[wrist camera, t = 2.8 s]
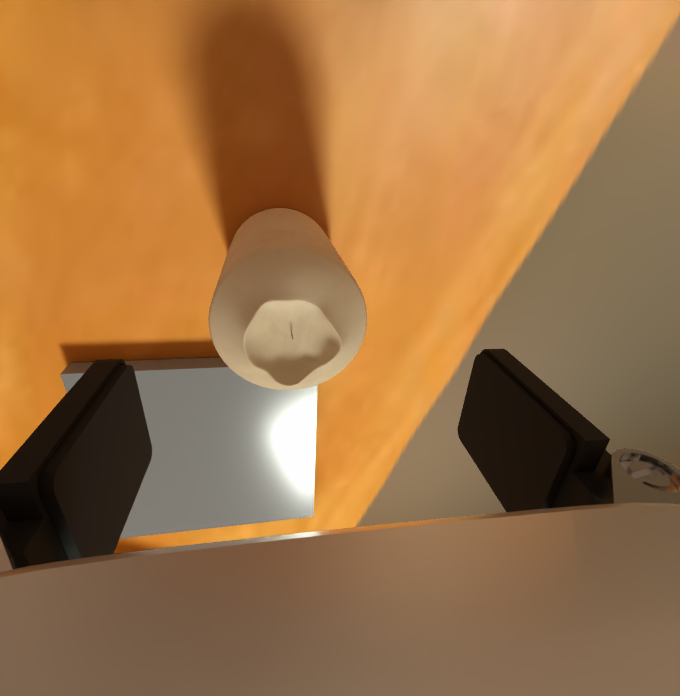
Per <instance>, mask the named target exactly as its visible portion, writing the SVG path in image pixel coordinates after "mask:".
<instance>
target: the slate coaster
mask: <svg viewBox="0 0 680 696" xmlns="http://www.w3.org/2000/svg"><path fill="white" fill-rule="evenodd" d="M124 362H125V363H126V365H132V366H133V368H134V371H135V376H136V380H137V384H138V389H139V393H140V397H141V401H142V406H143V410H144V414H145V419H146V423H147V427H148V431H149V436H150V440H151V444H152V458H151V461H150V464H149V466H148V469H147V471H146V474H145V476H144V479H143V481H142V484H141V486H140V489H139V491H138V494H137V496H136V499H135V501H134V504H133V506H132V509H131V511H130V514H129V516H128V519H127V521H126V524H125V526H124V528H123V531H122V533H121V536H120V538H128V537H137V536H146V535H155V534H164V533H173V532H181V531H190V530H199V529H208V528H217V527H226V526H234V525H243V524H252V523H261V522H270V521H279V520H287V519H296V518H305V517H313V514H314V481H315V448H316V415H317V385H315V386H312V387H309V388H304V389H298V390H276V389H269V388H265V387H261V386H259V385H256V384H253V383H251V382H249V381H247V380H245V379H243V378H242V377H240V376H239V375H237V374H236V373H235V372H234V371H233V370H231V369H230V368H229V367H228V366H227V365H226V363H225V362H224V361H223V360H222V358H221V357H212V358H185V359H158V360H131V361H124ZM93 363H94V362H77V363H70V364H69V365H68V366H67V367H66V368H65V369H64V371H63V372H62V373H61V377H62V380H63V383H64V386H65V388H66V391H67V393H68V391H69V390H70V389H71V388H72V387H73V386H74V385H75V383H76V382H77V381H78V380H79V379H80V378H81V376H82V375H83V374H84V373H85V372H86V371H87V369H88V368H89V367H90V366H91V365H92V364H93ZM120 538H119V539H120Z"/></svg>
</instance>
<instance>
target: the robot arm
mask: <svg viewBox="0 0 680 696" xmlns="http://www.w3.org/2000/svg"><path fill="white" fill-rule="evenodd" d="M458 435H459V438H460V440H461V442H462V443H463V445H464V447H465V448H466V449H467V451H468V453H469V454H470V456H471V457H472V459H473V460H474V462H475V463H476V465H477V467H478V468H479V470H480V471H481V473H482V474H483V476H484V478H485V479H486V481H487V482H488V484H489V485H490V487H491V489H492V490H493V492H494V493H495V495H496V496H497V498H498V499H499V501H500V502H501V504H502V506H503V507H504V509H505V510H506V512H505V513H495V514H484V515H474V516H464V517H454V518H443V519H433V520H424V521H413V522H403V523H394V524H383V525H373V526H364V527H354V528H344V529H335V530H325V531H315V532H306V533H296V534H287V535H278V536H269V537H259V538H250V539H241V540H232V541H222V542H213V543H204V544H195V545H186V546H176V547H167V548H159V549H151V550H142V551H134V552H126V553H118V554H113V553H114V551H115V548H116V546H117V543H118V541H119V538H120V536H121V533H122V531H123V528H124V526H125V524H126V521H127V519H128V516H129V514H130V511H131V509H132V506H133V504H134V501H135V499H136V496H137V494H138V491H139V489H140V486H141V484H142V481H143V479H144V476H145V474H146V471H147V469H148V466H149V464H150V461H151V458H152V444H151V440H150V436H149V431H148V427H147V423H146V419H145V414H144V410H143V406H142V401H141V397H140V393H139V389H138V384H137V380H136V376H135V371H134V368H133V366H132V365H126V363H125V362H124V361H123V360H122V359H118V360H96V361H95V362H94V363H93V364H92V365H91V366H90V367H89V368H88V369H87V371H86V372H85V373H84V374H83V375H82V376H81V378H80V379H79V380H78V381H77V382H76V383H75V385H74V386H73V387H72V388H71V389H70V390H69V391H68V393H67V394H66V395H65V396H64V397H63V398H62V400H61V401H60V402H59V403H58V404H57V405H56V407H55V408H54V409H53V410H52V411H51V412H50V414H49V415H48V416H47V417H46V418H45V419H44V420H43V422H42V423H41V424H40V425H39V426H38V427H37V429H36V430H35V431H34V432H33V433H32V434H31V436H30V437H29V438H28V439H27V440H26V441H25V443H24V444H23V445H22V446H21V447H20V448H19V449H18V451H17V452H16V453H15V454H14V455H13V456H12V458H11V459H10V460H9V461H8V462H7V463H6V465H5V466H4V467H3V468H2V469H1V470H0V696H680V469H678V468H677V467H675V466H674V465H673V464H672V463H670V462H668V461H666V460H664V459H662V458H661V457H659V456H656V455H654V454H651V453H649V452H646V451H642V450H638V449H631V448H622V449H617V450H616V451H614V452H613V453H612V455H610V454H609V453H608V452H607V451H606V450H605V449H606V447H607V445H608V442H609V440H610V439H609V438H608V437H607V436H606V435H605V434H603V433H602V432H601V431H600V430H599V429H598V428H596V427H595V426H594V425H593V424H592V423H591V422H589V421H588V420H587V419H586V418H585V417H583V416H582V415H581V414H580V413H579V412H578V411H577V410H575V409H574V408H573V407H572V406H571V405H570V404H568V403H567V402H566V401H565V400H564V399H562V398H561V397H560V396H559V395H558V394H557V393H556V392H554V391H553V390H552V389H551V388H550V387H548V386H547V385H546V384H545V383H544V382H543V381H542V380H540V379H539V378H538V377H537V376H536V375H535V374H533V373H532V372H531V371H530V370H529V369H528V368H526V367H525V366H524V365H523V364H522V363H521V362H519V361H518V360H517V359H516V358H515V357H514V356H512V355H511V354H510V353H509V352H508V351H507V350H505V349H484V350H483V351H482V352H481V353H480V354H478V355H477V356H476V357H475V360H474V364H473V368H472V372H471V376H470V380H469V385H468V388H467V393H466V396H465V401H464V405H463V409H462V413H461V417H460V421H459V425H458Z"/></svg>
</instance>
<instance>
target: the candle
mask: <svg viewBox="0 0 680 696" xmlns="http://www.w3.org/2000/svg"><path fill="white" fill-rule="evenodd" d="M366 325H367V312H366V305H365V301H364V297H363V295H362V292H361V290H360V288H359V286H358V284H357V283H356V281H355V279H354V278H353V276H352V274H351V273H350V271H349V270H348V268H347V267H346V265H345V263H344V262H343V260H342V259H341V257H340V256H339V254H338V252H337V251H336V249H335V248H334V246H333V245H332V243H331V241H330V240H329V238H328V237H327V235H326V234H325V232H324V231H323V230H322V228H321V227H320V226H319V225H318V224H317V223H316V222H315V221H314V220H313V219H311V218H310V217H309V216H307V215H305V214H303V213H301V212H299V211H296V210H292V209H288V208H272V209H267V210H263V211H260V212H258V213H256V214H254V215H253V216H251V217H250V218H248V219H247V220H246V221H245V222H244V223H243V224H242V225H241V226H240V227H239V229H238V230H237V232H236V233H235V235H234V238H233V240H232V242H231V245H230V248H229V251H228V254H227V256H226V259H225V262H224V265H223V268H222V271H221V274H220V277H219V280H218V283H217V286H216V289H215V292H214V295H213V298H212V302H211V305H210V311H209V329H210V335H211V338H212V341H213V344H214V346H215V348H216V350H217V352H218V354H219V356H220V357H221V358H222V360H223V361H224V362H225V363H226V365H227V366H228V367H229V368H230V369H231V370H233V371H234V372H235V373H236V374H237V375H239V376H240V377H242V378H243V379H245V380H247V381H249V382H251V383H253V384H256V385H259V386H261V387H265V388H269V389H276V390H298V389H304V388H309V387H312V386H315V385H318V384H320V383H322V382H325V381H327V380H328V379H330V378H332V377H334V376H335V375H336V374H338V373H339V372H340V371H342V370H343V369H344V368H345V367H346V366H347V365H348V364H349V363H350V361H351V360H352V359H353V358H354V356H355V355H356V353H357V352H358V350H359V348H360V346H361V344H362V341H363V338H364V335H365V331H366Z"/></svg>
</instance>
